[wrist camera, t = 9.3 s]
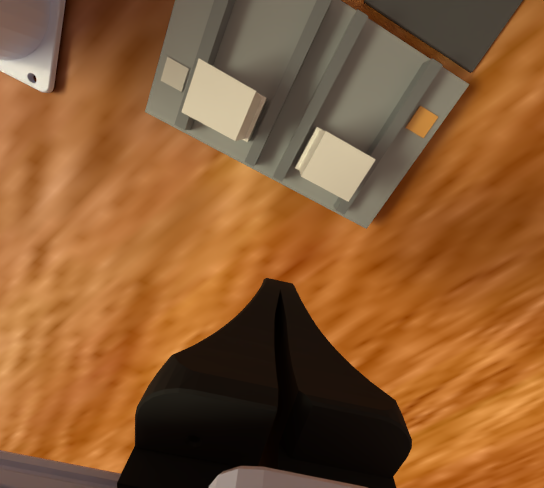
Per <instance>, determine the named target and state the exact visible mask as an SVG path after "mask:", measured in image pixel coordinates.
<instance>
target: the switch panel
mask: <svg viewBox="0 0 544 488" xmlns="http://www.w3.org/2000/svg"><path fill="white" fill-rule="evenodd" d="M198 59H201V60H203V61H204V62H206V63H208V64H210V65H211V66H213V67H215V68H217V69H218V70H220V71H222V72H224V73H225V74H227V75H229V76H231V77H232V78H234V79H236V80H238V81H239V82H241V83H243V84H245V85H246V86H248V87H250V88H252V89H253V90H255V91H257V93H259V94H261V95H262V96H264V97H266V98H267V99H268V100H267V102H266V105H265V107H264V109H263V111H262V114H261V116H260V118H259V121H258V123H257V125H256V127H255V130H254V132H253V134H252V136H251V139H250V141H249V142H246V141H244V140H237V141H234V140H232V139H230V138H229V137H227V136H225V135H223V134H221V133H219V132H217V131H216V130H214V129H212V128H210V127H208V126H206V125H204V124H203V123H201V122H199V121H197V120H195V119H193V118H191V117H190V116H188V115H186V114H184V113H182V108H183V105H184V102H185V99H186V96H187V93H188V90H189V87H190V84H191V81H192V78H193V75H194V71H195V68H196V65H197V62H198ZM442 66H443V65H442V64H441V63H439V62H438V61H436V60H434V59H433V58H432V59H430V58H428V57H427V56H425V55H424V54H422V53H421V52H419V51H417V50H416V49H414V48H413V47H411V46H410V45H408V44H407V43H405V42H404V41H402V40H401V39H399V38H398V37H396V36H395V35H393V34H391V33H390V32H388V31H387V30H385V29H384V28H382V27H381V26H379V25H378V24H376V23H375V22H373V21H372V20H370V19H369V18H368V16H367V15H366V14H364V13H363V12H361V11H360V10H358V9H357V10H355V9H353V8H352V7H350V6H349V5H347V4H346V3H344V2H343V1H341V0H175V3H174V7H173V11H172V14H171V18H170V22H169V25H168V29H167V33H166V36H165V40H164V44H163V47H162V51H161V55H160V58H159V62H158V66H157V69H156V73H155V77H154V80H153V84H152V88H151V91H150V95H149V99H148V103H147V106H146V110H145V112H146V113H148V114H150V115H152V116H154V117H156V118H158V119H160V120H161V121H163V122H165V123H167V124H169V125H171V126H173V127H175V128H177V129H178V130H180V131H182V132H184V133H186V134H188V135H190V136H192V137H194V138H196V139H197V140H199V141H201V142H203V143H205V144H207V145H209V146H211V147H213V148H214V149H216V150H218V151H220V152H222V153H224V154H226V155H228V156H230V157H232V158H233V159H235V160H237V161H239V162H241V163H243V164H245V165H247V166H249V167H250V168H252V169H254V170H256V171H258V172H260V173H262V174H264V175H266V176H268V177H269V178H271V179H273V180H275V181H277V182H279V183H281V184H283V185H285V186H286V187H288V188H290V189H292V190H294V191H296V192H298V193H300V194H302V195H304V196H305V197H307V198H309V199H311V200H313V201H315V202H317V203H319V204H321V205H322V206H324V207H326V208H328V209H330V210H332V211H334V212H336V213H338V214H340V215H341V216H343V217H345V218H347V219H349V220H351V221H353V222H355V223H357V224H358V225H360V226H362V227H364V228H366V229H367V228H368V226H369V225H370V223H371V222H372V221H373V219H374V218H375V216H376V215H377V214H378V212H379V211H380V209H381V208H382V207H383V205H384V204H385V202H386V201H387V200H388V198H389V197H390V195H391V194H392V192H393V191H394V190H395V188H396V187H397V185H398V184H399V183H400V181H401V180H402V178H403V177H404V176H405V174H406V173H407V171H408V170H409V169H410V167H411V166H412V164H413V163H414V162H415V160H416V159H417V157H418V156H419V155H420V153H421V152H422V150H423V149H424V148H425V146H426V145H427V143H428V142H429V140H430V139H431V138H432V136H433V135H434V133H435V132H436V131H437V129H438V128H439V126H440V125H441V124H442V122H443V121H444V119H445V118H446V117H447V115H448V114H449V112H450V111H451V110H452V108H453V107H454V105H455V104H456V103H457V101H458V100H459V98H460V97H461V96H462V94H463V93H464V91H465V90H466V88H467V87H468V86H469V84H468V83H466V82H465V81H463V80H462V79H460V78H459V77H457V76H456V75H454V74H453V73H451V72H450V71H448V70H447V69H445V68H443V67H442ZM315 127H318V128H320V129H322V130H324V131H327V132H329V133H330V134H332V135H334V136H336V137H337V138H339V139H341V140H342V141H344V142H346V143H348V144H349V145H351V146H353V147H355V148H356V149H358V150H360V151H362V152H363V153H365V154H367V155H369V156H370V157H372V158H374V159H376V160H375V162H374V163H373V165H372V166H371V168H370V169H369V171H368V172H367V174H366V175H365V177H364V179H363V180H362V182H361V183H360V185H359V186H358V188H357V189H356V191H355V192H354V194H353V196H352V197H351V199H350V200H349V202H348V201H346V200H344V199H342V198H340V197H338V196H336V195H335V194H333V193H331V192H329V191H327V190H325V189H323V188H322V187H320V186H318V185H316V184H314V183H312V182H310V181H308V180H307V179H305V178H303V177H301V174H300V171H299V170H298V169H296V168H295V165H296V163H297V161H298V159H299V157H300V156H301V154H302V152H303V150H304V148H305V146H306V144H307V142H308V140H309V139H310V137H311V135H312V133H313V131H314V129H315Z"/></svg>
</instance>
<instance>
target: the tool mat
mask: <svg viewBox="0 0 544 488" xmlns="http://www.w3.org/2000/svg"><path fill="white" fill-rule="evenodd" d="M522 1H523V0H365V1H364V3H366V4H367V5H369V6H370V7H372V8H373V9H375V10H376V11H378V12H379V13H381V14H382V15H384V16H385V17H387V18H388V19H390V20H391V21H393V22H394V23H396V24H397V25H399V26H400V27H402V28H403V29H405V30H406V31H408V32H409V33H411V34H413V35H414V36H416V37H417V38H419V39H420V40H422V41H423V42H425V43H426V44H428V45H429V46H431V47H432V48H434V49H435V50H437V51H438V52H440V53H441V54H443V55H444V56H446V57H447V58H449V59H450V60H452V61H453V62H455V63H456V64H458V65H459V66H461V67H462V68H464V69H465V70H467V71H468V72H470V73H471V72H473V70H474V69H475V68H476V66H477V65H478V63H479V62H480V60H481V59H482V58H483V56H484V55H485V53H486V52H487V51H488V49H489V48H490V46H491V45H492V43H493V42H494V41H495V39H496V38H497V36H498V35H499V33H500V32H501V31H502V29H503V28H504V26H505V25H506V23H507V22H508V21H509V19H510V18H511V16H512V15H513V14H514V12H515V11H516V9H517V8H518V6H519V5H520V4H521V2H522Z"/></svg>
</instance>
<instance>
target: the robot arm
mask: <svg viewBox="0 0 544 488" xmlns="http://www.w3.org/2000/svg"><path fill="white" fill-rule="evenodd" d="M65 2H66V0H0V71H1V72H3V73H5V74H7V75H9V76H11V77H13V78H15V79H17V80H19V81H21V82H23V83H25V84H27V85H29V86H31V87H33V88H35V89H37V90H39V91H41V92H45V93H50V92H52V91H53V89H54V83H55V76H56V68H57V61H58V53H59V46H60V39H61V31H62V24H63V17H64V9H65ZM34 75H35V76H36V79H37V81H36V82H35V81H34V78H33V77H34ZM411 447H412V439H411V437H410V434H409V432H408V429H407V426H406V423H405V421H404V418H403V415H402V413H401V411H400V409H399V407H398V405H397V403H396V400H394V399H393V398H392V397H390V396H389V395H388V394H386V393H385V392H384V391H382V390H381V389H380V388H378V387H377V386H376V385H374V384H373V383H372V382H370V381H369V380H368V379H367V378H366V377H364V376H363V375H362V374H361V373H360V372H359V371H357V370H356V369H355V368H354V367H353V366H352V365H351V364H350V363H349V362H348V361H347V360H346V359H345V358H344V357H343V356H342V355H341V354H340V353H339V352H338V351H337V350H336V349H335V348H334V347H333V346H332V345H331V344H330V342H329V341H328V340H327V339H326V337H325V336H324V335H323V334H322V333H321V331H320V330H319V329H318V327H317V326H316V324H315V323H314V321H313V320H312V318H311V317H310V315H309V313H308V311H307V310H306V308H305V306H304V304H303V303H302V301H301V299H300V297H299V295H298V293H297V291H296V289H295V286H294V285H293V284H292V283H287V282H283V281H278V280H274V279H269V278H266V279H264V281H263V283H262V286H261V287H260V289H259V291H258V292H257V293H256V295H255V296H254V297H253V299H252V300H251V301H250V302H249V304H248V305H247V306H246V307H245V308H244V309H243V310H242V311H241V312H240V313H239V314H238V315H237V316H236V317H235V318H234V319H232V320H231V321H230V322H229V323H228V324H226V325H225V326H224V327H222V328H221V329H220V330H218V331H217V332H215V333H214V334H212V335H211V336H209V337H207V338H206V339H204V340H202V341H201V342H199V343H197V344H195V345H193V346H191V347H189V348H187V349H185V350H183V351H181V352H178V353H176V354H173V355H172V356H171V357H170V358H169V359H168V360H167V362H166V363H165V364H164V365H163V366H162V368H161V369H160V370H159V372H158V373H157V374H156V376H155V377H154V379H153V380H152V381H151V383H150V384H149V386H148V388H147V390H146V391H145V393H144V395H143V397H142V399H141V401H140V402H139V404H138V406H137V410H136V414H135V447H134V449H133V451H132V453H131V455H130V457H129V459H128V461H127V463H126V465H125V467H124V469H123V471H122V473H121V474H119V473H114V472H109V471H104V470H99V469H94V468H88V467H83V466H78V465H73V464H68V463H63V462H58V461H52V460H47V459H42V458H37V457H32V456H27V455H22V454H16V453H11V452H6V451H1V450H0V488H396V485H395V482H394V478H393V476H394V475H395V473H396V472H397V471H398V469H399V468H400V466H401V465H402V464H403V462H404V461H405V460H406V458H407V456H408V454H409V452H410V450H411Z"/></svg>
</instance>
